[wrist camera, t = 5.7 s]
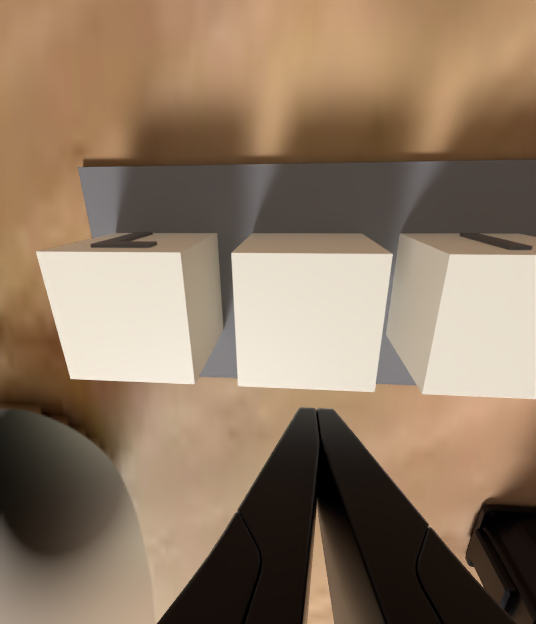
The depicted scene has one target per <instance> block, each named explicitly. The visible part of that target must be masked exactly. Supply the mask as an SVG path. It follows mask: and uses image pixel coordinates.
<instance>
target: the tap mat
mask: <svg viewBox="0 0 536 624" xmlns="http://www.w3.org/2000/svg"><path fill="white" fill-rule="evenodd" d="M78 171H79V176H80V181H81V185H82V190H83V195H84V200H85V205H86V210H87V215H88V219H89V224H90V229H91V234H92V238H96V237H101V236H105V235H109V234H113V233H135V232H153V233H217V238H218V253H219V269H220V284H221V299H222V314H223V329H224V330H223V332H222V334H221V336H220V338H219V340H218V341H217V343H216V345H215V347H214V349H213V351H212V353H211V355H210V356H209V358H208V360H207V362H206V364H205V366H204V368H203V370H202V372H201V373H200V375H199V376H202V377H227V378H238V375H237V356H236V336H235V317H234V297H233V278H232V258H231V253H232V252H233V251H234V250H235V249H236V248H237V247H238V246H239V245H240V244H241V243H242V242H243V241H244V240H246V239H247V238H248V237H249V236H250V235H251V234H252V233H362V234H364V235H365V236H367V237H368V238H370V239H371V240H373V241H374V242H376V243H377V244H379V245H380V246H382V247H383V248H385V249H386V250H388V251H389V252H391V253H392V254H393V257H392V264H391V272H390V279H389V287H388V294H387V302H386V309H385V317H384V324H383V332H382V339H381V347H380V354H379V362H378V369H377V377H376V384H396V385H416V383H415V381H414V380H413V378H412V377H411V375H410V373H409V372H408V370H407V368H406V367H405V365H404V363H403V362H402V360H401V359H400V357H399V355H398V354H397V352H396V350H395V349H394V347H393V345H392V344H391V342H390V341H389V339H388V337H387V336H386V330H387V323H388V316H389V308H390V301H391V294H392V287H393V279H394V272H395V265H396V258H397V250H398V243H399V236H400V233H479V234H523V235H528V236H534V237H536V159H524V160H467V161H409V162H351V163H293V164H236V165H178V166H120V167H78Z"/></svg>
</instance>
